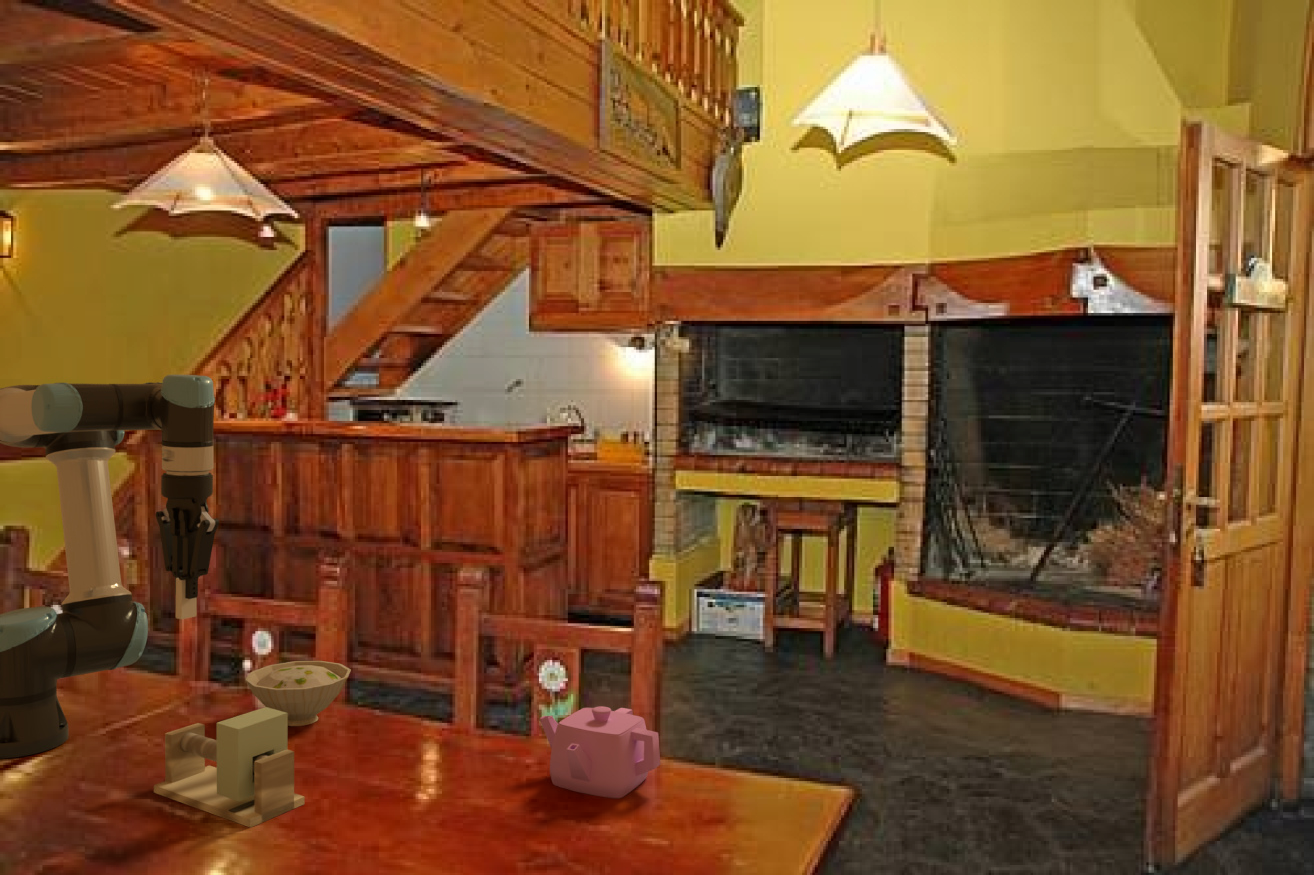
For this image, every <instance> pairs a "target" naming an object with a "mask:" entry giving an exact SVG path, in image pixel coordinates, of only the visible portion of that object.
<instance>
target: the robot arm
mask: <svg viewBox="0 0 1314 875" xmlns="http://www.w3.org/2000/svg"><path fill="white" fill-rule="evenodd" d="M215 401H216V398H215V392H214V381H213V379H212V378H211V377H209V376H207V375H197V374H167V375H165V376H164V377H163V378H162V381H161V382H158V381H157V382H145V383H68V382H55V383H42V384H17V385H10V386H5V387H0V445H1V444H2V445H4V446H8V447H16V448H28V449H29V448H35V449H36V448H44V449H45V451H44V452H45V459H47V460H48V461H49V462H50V463H52V464H53V465H54V466H55V468H56V473H57V474H56V475H57V484H58V486H57V487H58V494H59V501H60V502H59V504H60V513H61V520H62V522H61V524H62V531H63V540H64V549H65V560H66V568H67V578H68V586H69V588H68V589H69V593H68V595H67V596H66V597H65V599H64V600H63V601H62V602H61V611H62V612H60V613H57V612H56V610H55V608H53V607H51V606H42V605H41V606H35V607H24V608H18V609H14V610H11V611H7V612H3V613H0V759H10V758H11V759H13V758H20V757H26V756H31V755H35V754H39V753H43V752H47V751H49V750H52V749H54V748H57V747H59V746H60V745H62V744H64V743H65V742H67V741H68V739H69V724H68V721H67V718H66V715H65V714H64V711H63V709H62V706H61V703H60V700H59V699H58V695H57V694H58V692H57V685H58V684H57V683H58V680H60V679H64V678H71V677H75V676H76V677H77V676H81V675H88V674H91V673H92V674H94V673H97V672H103V671H112V670H113V671H114V670H115V669H118V668H123V667H126V666H127V667H128V666H130V665H133V664H134V663H136V662H137V661H138V660H139V659H140V658H141V656H142V655H143V652H144V650H145V647H146V644H147V640H148V633H149V632H148V631H149V626H148V625H149V623H148V622H149V620H148V616H147V613H146V612H145V611H146V609H145V607H144V605H143V604H142V603H140V602H138V601H133V594H132V592H131V591H130V590H128V589H127V588H125V587H124V586H123V584H122V578H121V577H122V576H121V568H120V562H119V561H120V558H119V549H118V542H117V532H116V523H115V516H114V515H115V514H114V507H113V506H114V505H113V498H112V496H113V495H112V490H111V488H112V487H111V481H110V480H111V479H110V472H109V469H110V468H109V460H110V459H111V458H112V457H113V456H114V455H115V453H116V446H117V445H119V444H121V443H122V442H123V440H124V436H125V431H149V430H150V431H153V430H154V431H157V430H159V431H161V446H162V447H161V451H162V452H161V469H162V471H165V472H163V473H162V475H161V476H160V477H161V481H160V482H161V483H160V486H161V487H160V493H161V496H162V497H163V498H165V499H167V500H166V503H165V508H164V509H163V510H158V511H156V512H155V519H156V521H157V524H158V526H159V533H160V541H161V547H162V554H163V561H164V569H165V571H166V572H171V573H172V577H174V595H175V619H177V620H185V619H190V618H195V617H197V599H198V595H199V594H198V593H199V578H200V577H202V576H207V575H208V574H209V569H210V563H211V562H210V561H211V558H212V551H213V546H214V545H213V544H214V540H215V534H216V532H217V530H218V528H219V525H220V520H219V518H212V517H211V515H210V514H209V510H210V508H209V506H208V501H207V500H208V499H209V497H211V496H212V495H213V493H214V489H213V487H214V475H213V474H212V473H211V471H212V470H213V469H214V424H215V423H214V420H215V419H214V418H215V416H214V414H215V403H216V402H215Z"/></svg>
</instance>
